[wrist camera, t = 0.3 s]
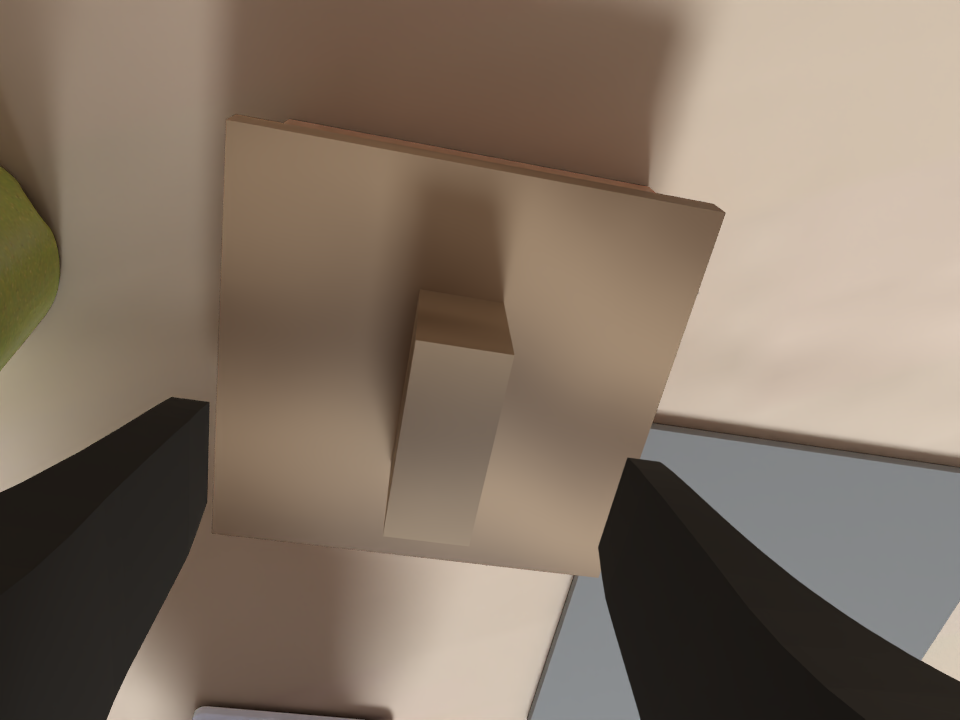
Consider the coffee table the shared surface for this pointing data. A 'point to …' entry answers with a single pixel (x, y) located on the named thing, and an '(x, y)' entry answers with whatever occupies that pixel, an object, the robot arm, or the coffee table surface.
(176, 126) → the coffee table surface
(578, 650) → the mat
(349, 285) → the lid
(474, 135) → the coffee table surface
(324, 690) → the coffee table surface
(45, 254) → the plant pot
